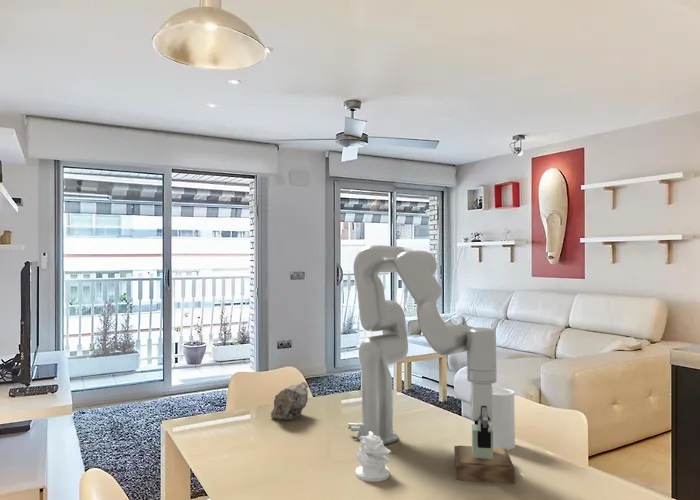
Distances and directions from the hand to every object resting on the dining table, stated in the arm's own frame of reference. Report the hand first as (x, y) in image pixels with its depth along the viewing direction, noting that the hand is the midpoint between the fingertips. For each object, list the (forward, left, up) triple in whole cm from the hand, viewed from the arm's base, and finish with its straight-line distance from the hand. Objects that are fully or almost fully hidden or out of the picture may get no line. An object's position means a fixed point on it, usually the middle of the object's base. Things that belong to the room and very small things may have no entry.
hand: (482, 440), depth 131 cm
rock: (-63, +36, -8) cm, 73 cm away
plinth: (0, 0, -8) cm, 8 cm away
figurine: (-28, -7, -8) cm, 30 cm away
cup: (+7, +20, -8) cm, 23 cm away
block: (0, 0, -4) cm, 4 cm away
